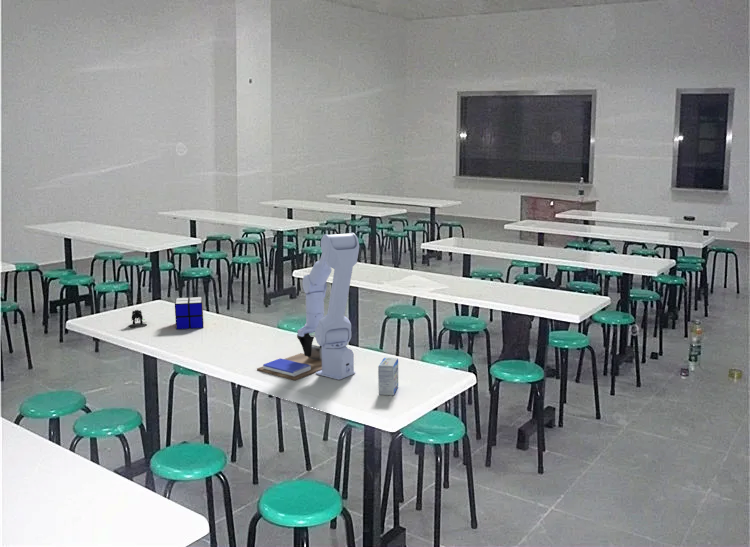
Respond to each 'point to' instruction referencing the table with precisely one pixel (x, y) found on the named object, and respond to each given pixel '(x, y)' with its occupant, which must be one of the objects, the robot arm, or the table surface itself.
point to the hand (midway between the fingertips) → (315, 353)
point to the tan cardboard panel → (313, 360)
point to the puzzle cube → (189, 313)
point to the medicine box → (388, 376)
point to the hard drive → (287, 367)
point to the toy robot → (136, 315)
